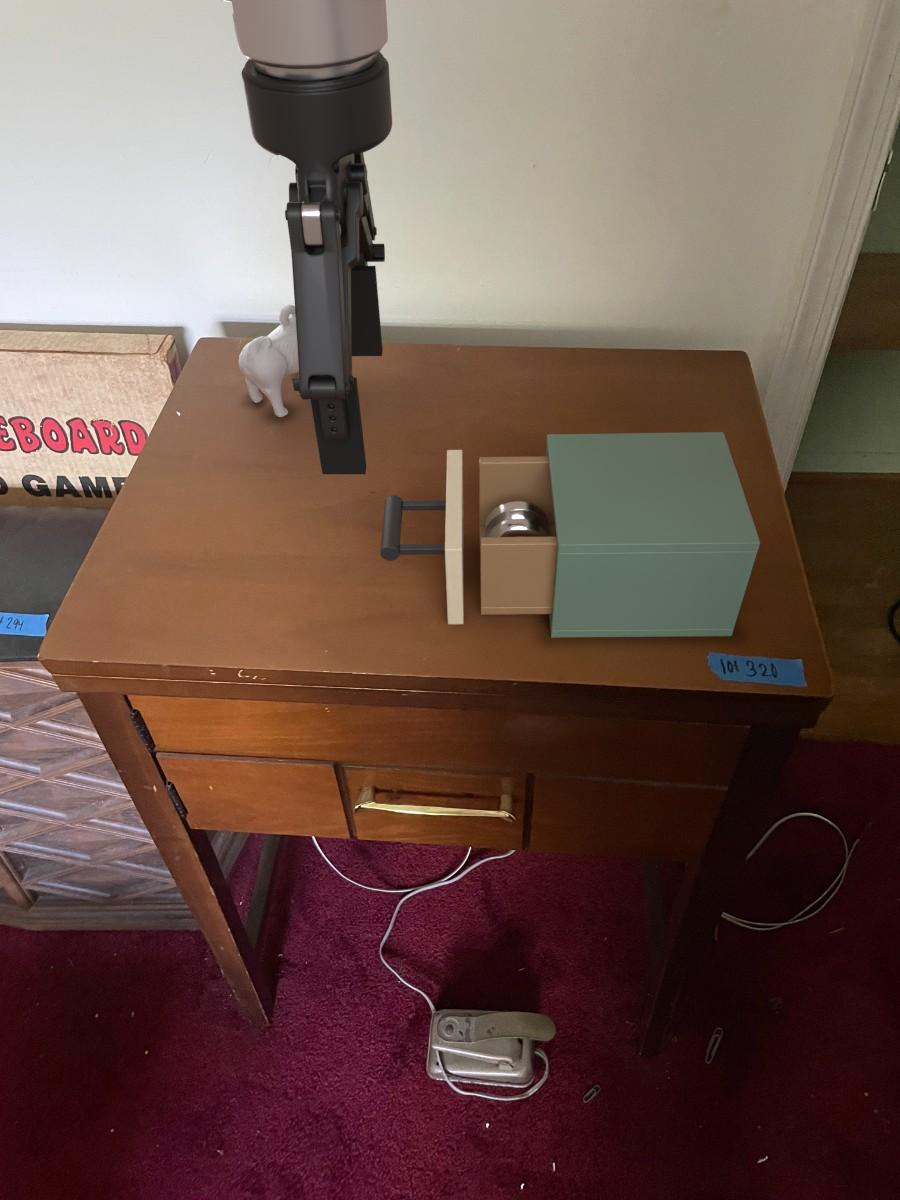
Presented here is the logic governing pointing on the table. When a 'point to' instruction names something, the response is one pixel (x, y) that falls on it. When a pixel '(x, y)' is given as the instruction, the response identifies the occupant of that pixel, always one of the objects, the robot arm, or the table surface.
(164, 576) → the table surface
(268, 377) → the dog figurine
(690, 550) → the cabinet
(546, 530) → the metal grooved wheel
